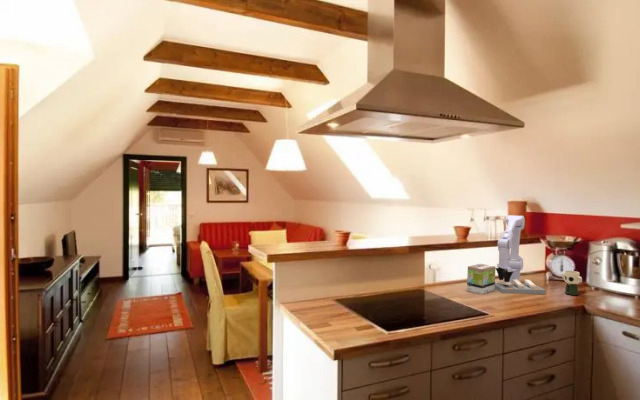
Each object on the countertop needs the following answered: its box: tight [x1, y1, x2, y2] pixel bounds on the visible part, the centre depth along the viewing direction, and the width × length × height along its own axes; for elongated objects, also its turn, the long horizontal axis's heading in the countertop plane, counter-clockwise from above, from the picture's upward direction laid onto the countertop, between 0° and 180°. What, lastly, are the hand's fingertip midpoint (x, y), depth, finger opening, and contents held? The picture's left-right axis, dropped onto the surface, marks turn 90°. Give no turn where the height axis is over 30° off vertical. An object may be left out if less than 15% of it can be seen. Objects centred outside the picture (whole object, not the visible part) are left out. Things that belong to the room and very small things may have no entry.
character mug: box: [561, 270, 583, 296], centre depth 202 cm, size 11×7×13 cm, turn 19°
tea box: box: [466, 263, 496, 295], centre depth 209 cm, size 15×10×15 cm
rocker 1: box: [499, 281, 511, 285], centre depth 210 cm, size 8×3×2 cm, turn 176°
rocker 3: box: [523, 279, 537, 288], centre depth 209 cm, size 8×3×2 cm, turn 176°
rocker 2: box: [512, 279, 524, 288], centre depth 210 cm, size 8×3×2 cm, turn 176°
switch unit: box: [495, 282, 546, 295], centre depth 210 cm, size 14×24×3 cm, turn 86°
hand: (503, 281), depth 212 cm, fingers open, 7 cm apart
